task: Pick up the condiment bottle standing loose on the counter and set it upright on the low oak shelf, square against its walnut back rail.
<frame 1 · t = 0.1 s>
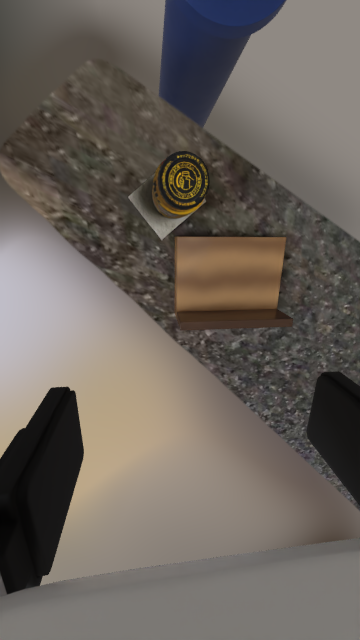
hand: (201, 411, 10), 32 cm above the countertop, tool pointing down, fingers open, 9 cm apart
condiment: (167, 199, 37), on the countertop
shelf: (224, 276, 41), on the countertop
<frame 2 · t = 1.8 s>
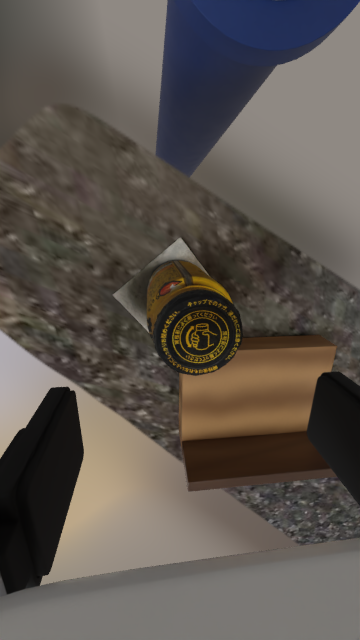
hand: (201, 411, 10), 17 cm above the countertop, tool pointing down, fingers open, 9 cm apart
condiment: (169, 294, 26), on the countertop
shelf: (246, 383, 30), on the countertop
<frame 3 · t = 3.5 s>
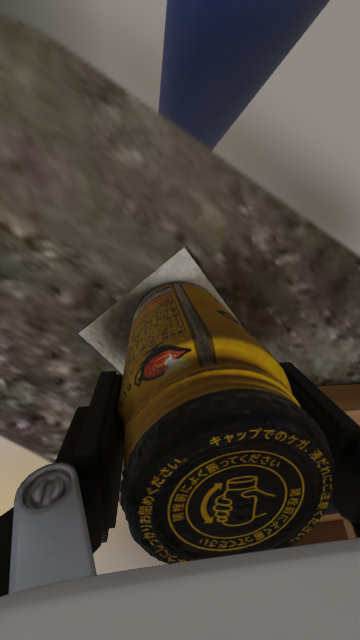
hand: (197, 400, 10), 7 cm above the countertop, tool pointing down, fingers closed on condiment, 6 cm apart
condiment: (166, 331, 17), on the countertop, touching gripper
shelf: (282, 448, 22), on the countertop
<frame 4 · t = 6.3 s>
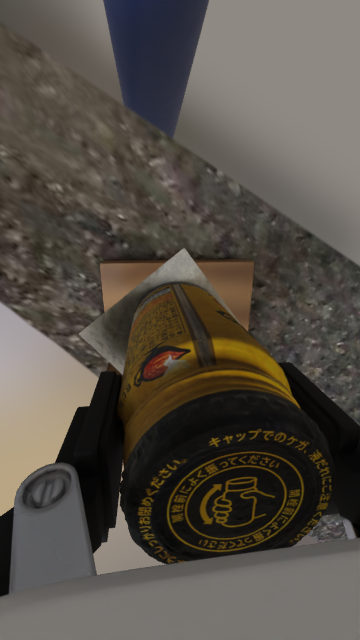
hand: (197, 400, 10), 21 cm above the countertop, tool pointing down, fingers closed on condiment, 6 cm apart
condiment: (166, 331, 17), point 14 cm above the countertop, touching gripper
shelf: (176, 310, 31), on the countertop
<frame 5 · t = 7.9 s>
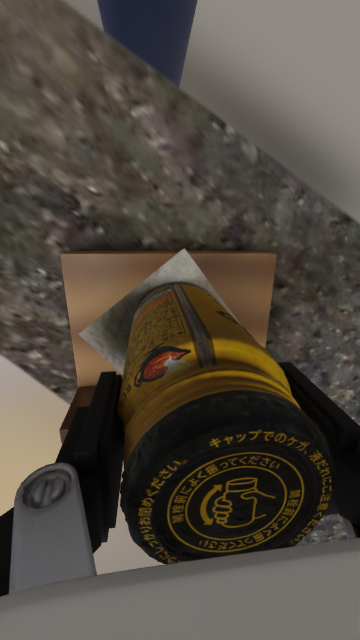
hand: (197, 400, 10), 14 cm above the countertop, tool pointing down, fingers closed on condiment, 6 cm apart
condiment: (166, 331, 17), point 6 cm above the countertop, touching gripper
shelf: (170, 318, 24), on the countertop
when the fingers open (10 cm above the countertop, at t = 9.2 s): condiment stays where it is, resting on shelf.
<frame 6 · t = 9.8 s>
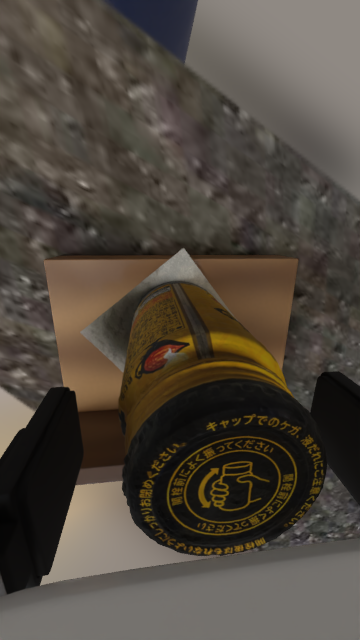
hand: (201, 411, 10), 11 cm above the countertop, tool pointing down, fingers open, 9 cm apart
condiment: (166, 330, 18), point 3 cm above the countertop, touching shelf
shelf: (173, 331, 21), on the countertop
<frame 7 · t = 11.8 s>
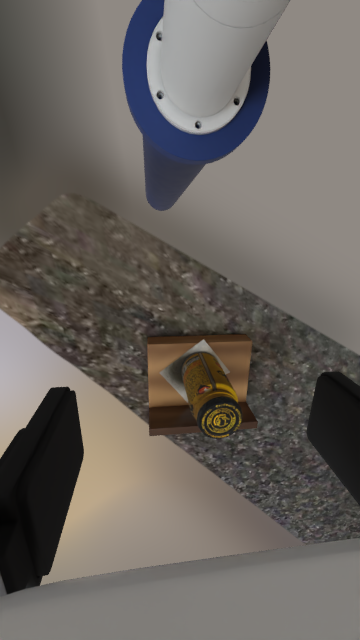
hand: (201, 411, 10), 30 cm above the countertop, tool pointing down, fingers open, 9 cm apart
condiment: (194, 370, 40), point 3 cm above the countertop, touching shelf
shelf: (196, 368, 43), on the countertop
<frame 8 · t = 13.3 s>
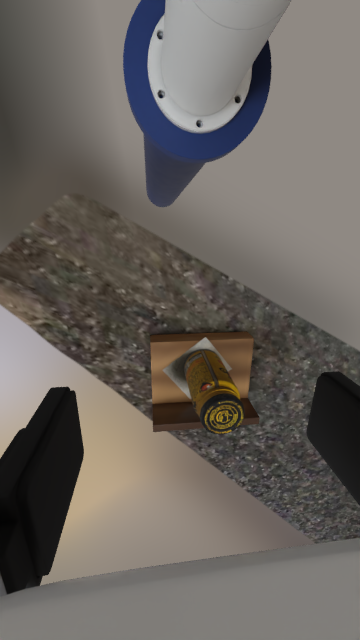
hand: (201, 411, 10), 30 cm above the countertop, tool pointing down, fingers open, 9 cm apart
condiment: (197, 368, 41), point 3 cm above the countertop, touching shelf
shelf: (198, 365, 44), on the countertop
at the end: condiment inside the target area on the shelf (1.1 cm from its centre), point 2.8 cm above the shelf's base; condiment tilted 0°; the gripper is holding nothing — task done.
